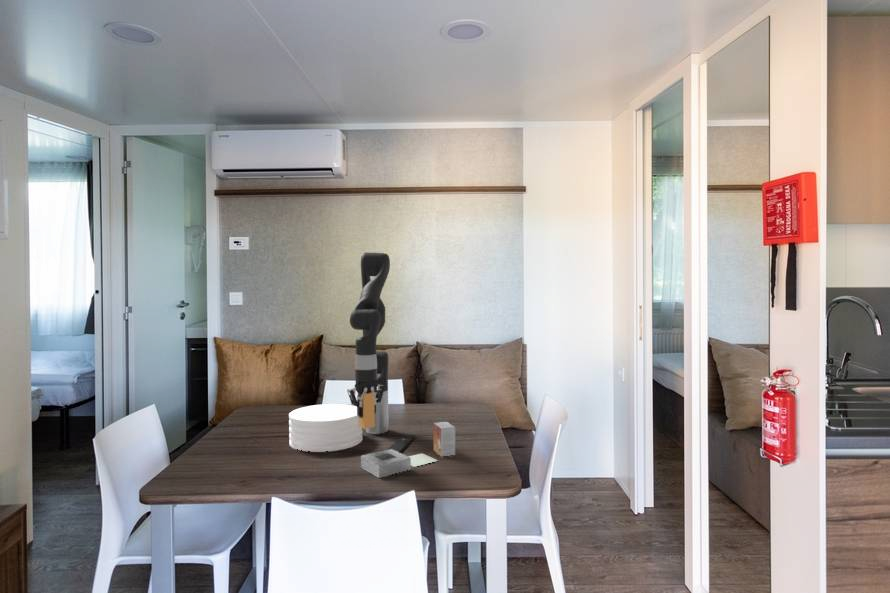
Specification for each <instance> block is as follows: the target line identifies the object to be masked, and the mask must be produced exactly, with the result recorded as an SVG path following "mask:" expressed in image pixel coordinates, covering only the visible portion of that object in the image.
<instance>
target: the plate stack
mask: <svg viewBox="0 0 890 593" xmlns="http://www.w3.org/2000/svg"><path fill="white" fill-rule="evenodd" d="M288 419H289V420H288V426H289V427H288V432H289V434H288V438H289V440H288V442H289V447H291V448H292V449H294V450H297V449H298V450H297V451H301V450H302V452H308V451H310V453H327V452H326V451H328V452H335V451H336V452H337V451H342V450H346V449H349V448H353V447H355V446H357V445H359V444H361V443H362V441H363V428H361V427H359V416H358V415H357V406H355V405H352V404H343V403H326V404H325V403H323V404H314V405H308V406H307V405H306V406H304V407H298V408H296V409H293V410H292V411H291V412H289V413H288Z"/></svg>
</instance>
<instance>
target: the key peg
mask: <svg viewBox="0 0 890 593" xmlns="http://www.w3.org/2000/svg"><path fill="white" fill-rule="evenodd" d="M359 396H360V395H359ZM360 397H361V396H360ZM362 407H363V417H362V418H360V417H359V427H361V428H362V430H363V429H364V430H366V429H367V428H372V427H375V413H374V393H366V394H364V400H363V406H362Z"/></svg>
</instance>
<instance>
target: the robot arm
mask: <svg viewBox="0 0 890 593" xmlns="http://www.w3.org/2000/svg"><path fill="white" fill-rule="evenodd" d="M390 268H391V261H390V255H389V254H387V253H384V252H363V253H362V254H361V257H360V275H361V287H362V290H361V292H360V296H359V301H358V302H357V304H356V306H354V308H353V309H352V311H351V313H350V316H349V324H350V326H351V328H352V329H354V330H356V331H357V330H358V331H362V336H359V337H356V339H355V358H354V373H355V374H354V376H355V379H354V380H355V384H354V387H352V388H348V389H347V395H348V398H349V400H350V403H351V404H350V405H353V406H357V415H358V416H359V417H360V418H362V417H363V407H362V406H363V400H364V394H366V393H374V413H375V427H372V428H367V429H365V433H367V434H371V435H380V434H381V433H382V434H386V433H388V432H389V354H388V352H387V351H385V350H384V351H379V350H378V351H377V338H378V335H379V334H380V333H381V331H382V329H383V328H384V326H385V323H386V307H385V304H384V302H383V300H382V299H381V294H382V291H383V288H384V286H385V284H386V282H387V279H388V275H389V273H390ZM371 277H374V278H372V279H371ZM378 375H379V376H378ZM356 393H357V394H356ZM356 395H357V396H356ZM359 395H360V396H361V397H360V396H359ZM387 431H388V432H387ZM385 432H386V433H385ZM382 434H381V435H382Z"/></svg>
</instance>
